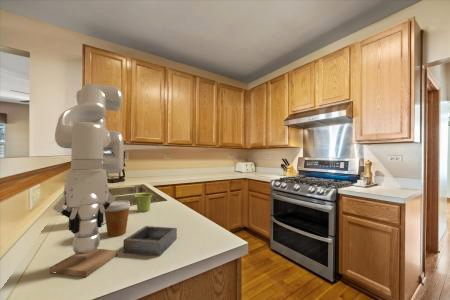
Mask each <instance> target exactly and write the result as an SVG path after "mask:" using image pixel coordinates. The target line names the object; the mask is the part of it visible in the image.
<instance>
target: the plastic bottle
mask: <svg viewBox="0 0 450 300" xmlns="http://www.w3.org/2000/svg"><path fill="white" fill-rule="evenodd" d="M77 210H78V211H77V213H76V218H77V220H78V222H77V233H76V234H73V235H74V236H73V240H72V243H71V245H72V251H73V252H74V254H75V253H76V254H86V253H90V252H93V251H95V250H96V249H99V247H100V242H101V237H100V232H99V227H98V210H99V198H98V196H96V195H94V194H88V195H86V196H85V197H83V198H82V199H81V201H80V207H78V208H77Z"/></svg>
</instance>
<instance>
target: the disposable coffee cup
mask: <svg viewBox="0 0 450 300" xmlns="http://www.w3.org/2000/svg"><path fill="white" fill-rule="evenodd" d="M130 208H131V204H130V201H129V200H125V199H124V200H115V201H114V202H113V203H112V204H110V206H109V207H108V208H107V209H106V210H105V219H106V223H105V225H106V232H107V237H110V238H115V237H120V236H123V235H125V234H126V233H127V227H128V226H127V225H128V220H129V219H128V218H129V212H130Z"/></svg>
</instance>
